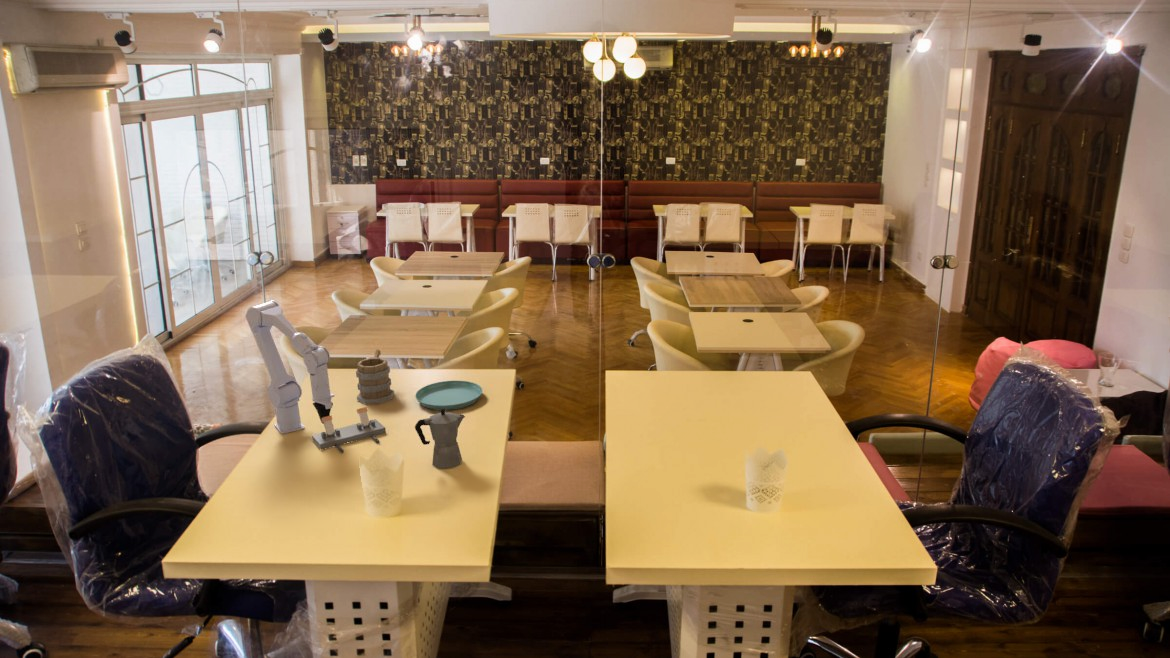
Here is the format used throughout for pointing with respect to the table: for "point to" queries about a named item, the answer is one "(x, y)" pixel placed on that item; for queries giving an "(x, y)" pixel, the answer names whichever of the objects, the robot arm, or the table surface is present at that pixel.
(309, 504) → the table surface
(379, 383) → the tankard
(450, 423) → the coffeepot
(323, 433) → the breaker block
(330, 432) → the lever
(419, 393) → the saucer
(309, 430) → the table surface
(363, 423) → the lever
